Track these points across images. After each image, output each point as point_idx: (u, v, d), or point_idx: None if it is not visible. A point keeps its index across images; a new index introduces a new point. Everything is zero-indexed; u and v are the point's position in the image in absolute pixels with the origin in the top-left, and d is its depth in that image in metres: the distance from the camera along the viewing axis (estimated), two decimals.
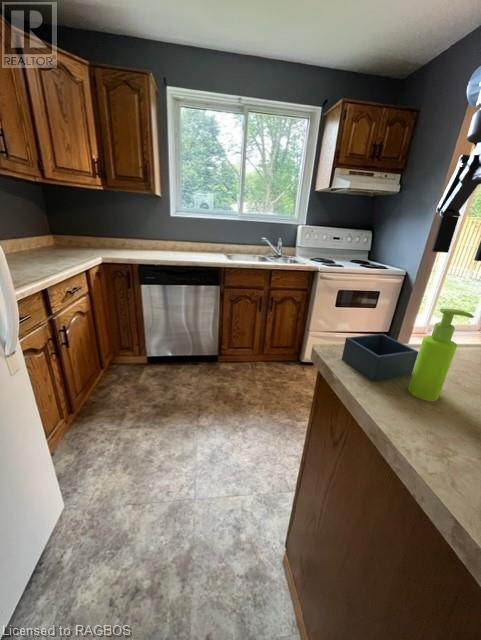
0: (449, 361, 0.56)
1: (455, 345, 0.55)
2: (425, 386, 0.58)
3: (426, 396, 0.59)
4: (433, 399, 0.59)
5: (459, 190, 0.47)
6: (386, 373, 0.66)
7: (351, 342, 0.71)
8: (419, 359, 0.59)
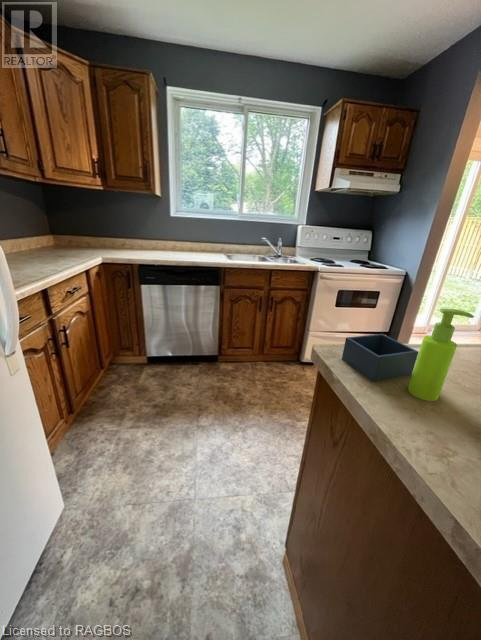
0: (449, 361, 0.56)
1: (455, 345, 0.55)
2: (425, 386, 0.58)
3: (426, 396, 0.59)
4: (433, 399, 0.59)
5: None
6: (386, 373, 0.66)
7: (351, 342, 0.71)
8: (419, 359, 0.59)
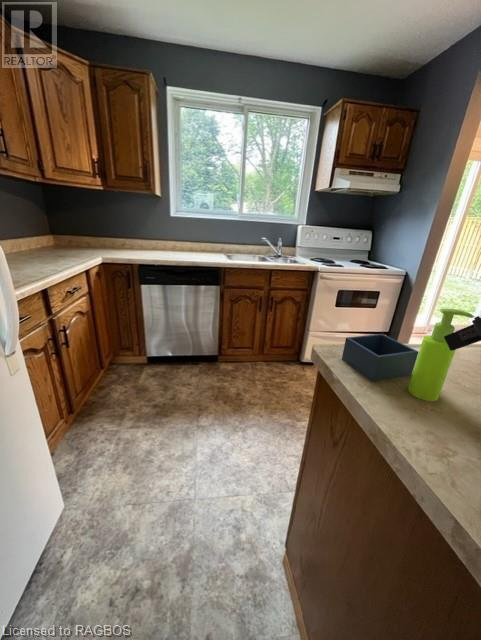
0: (449, 361, 0.56)
1: None
2: (425, 386, 0.58)
3: (426, 396, 0.59)
4: (433, 399, 0.59)
5: None
6: (386, 373, 0.66)
7: (351, 342, 0.71)
8: (419, 359, 0.59)
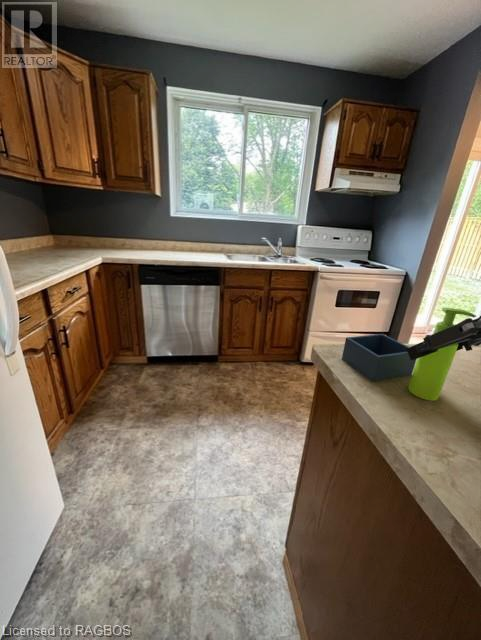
0: (450, 360, 0.56)
1: (456, 344, 0.55)
2: (426, 385, 0.58)
3: (426, 395, 0.59)
4: (433, 398, 0.59)
5: (464, 340, 0.51)
6: (386, 373, 0.66)
7: (351, 342, 0.71)
8: (420, 358, 0.59)
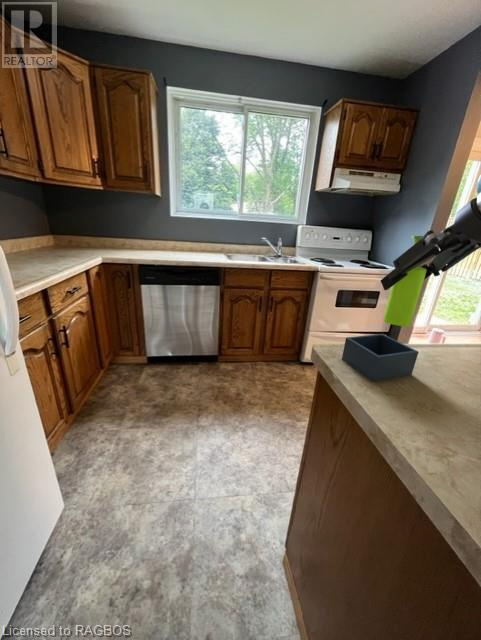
0: (419, 285, 0.60)
1: (425, 269, 0.59)
2: (398, 311, 0.62)
3: (398, 321, 0.62)
4: (405, 324, 0.62)
5: (430, 258, 0.54)
6: (386, 373, 0.66)
7: (351, 342, 0.71)
8: (392, 287, 0.63)
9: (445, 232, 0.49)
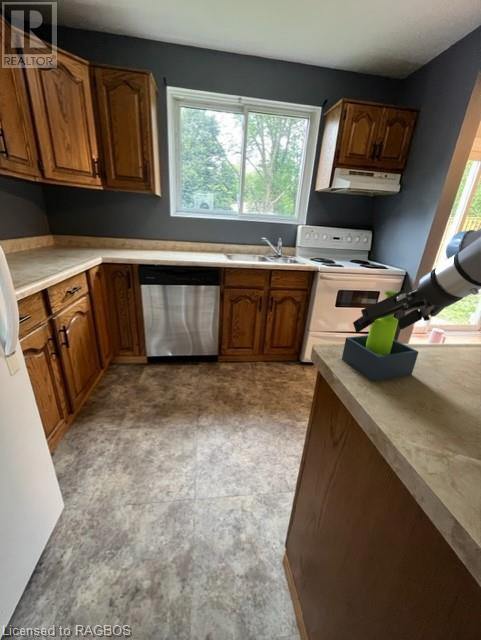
0: (392, 335, 0.66)
1: (396, 321, 0.66)
2: None
3: None
4: None
5: (395, 312, 0.60)
6: (386, 373, 0.66)
7: (351, 342, 0.71)
8: (369, 334, 0.70)
9: None
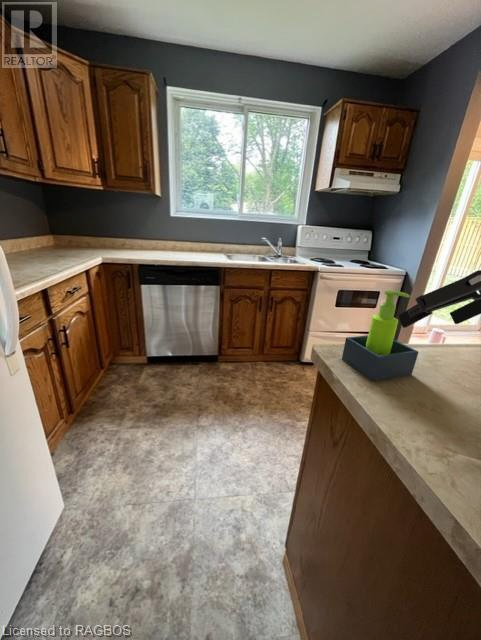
0: (392, 335, 0.66)
1: (396, 321, 0.66)
2: None
3: None
4: None
5: (463, 300, 0.46)
6: (386, 373, 0.66)
7: (351, 342, 0.71)
8: (369, 334, 0.70)
9: None
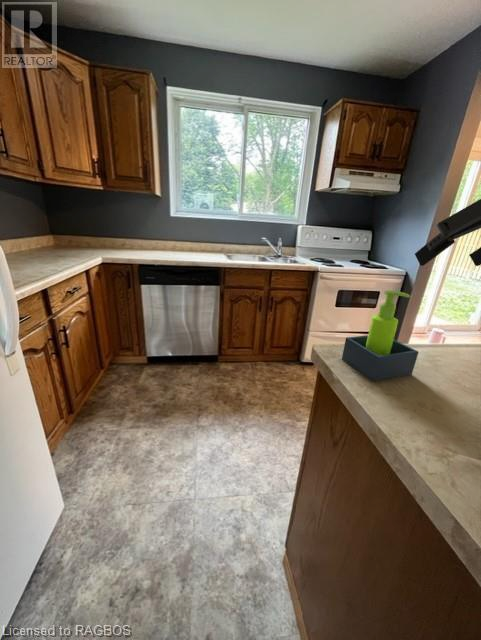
0: (392, 335, 0.66)
1: (396, 321, 0.66)
2: None
3: None
4: None
5: None
6: (386, 373, 0.66)
7: (351, 342, 0.71)
8: (369, 334, 0.70)
9: None
